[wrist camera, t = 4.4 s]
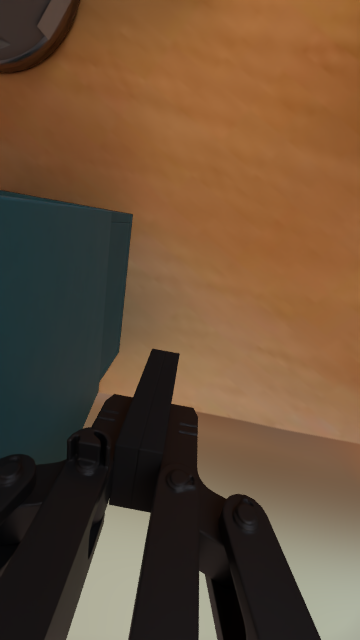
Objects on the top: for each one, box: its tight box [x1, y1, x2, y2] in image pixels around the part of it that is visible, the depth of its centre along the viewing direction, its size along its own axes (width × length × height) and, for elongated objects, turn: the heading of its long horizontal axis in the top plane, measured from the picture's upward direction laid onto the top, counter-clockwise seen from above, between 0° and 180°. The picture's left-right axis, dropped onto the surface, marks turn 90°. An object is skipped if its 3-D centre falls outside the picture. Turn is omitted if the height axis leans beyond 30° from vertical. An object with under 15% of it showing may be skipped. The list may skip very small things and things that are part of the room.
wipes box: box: [0, 190, 133, 382], centre depth 25 cm, size 14×16×7 cm
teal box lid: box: [0, 195, 112, 465], centre depth 15 cm, size 14×16×1 cm
